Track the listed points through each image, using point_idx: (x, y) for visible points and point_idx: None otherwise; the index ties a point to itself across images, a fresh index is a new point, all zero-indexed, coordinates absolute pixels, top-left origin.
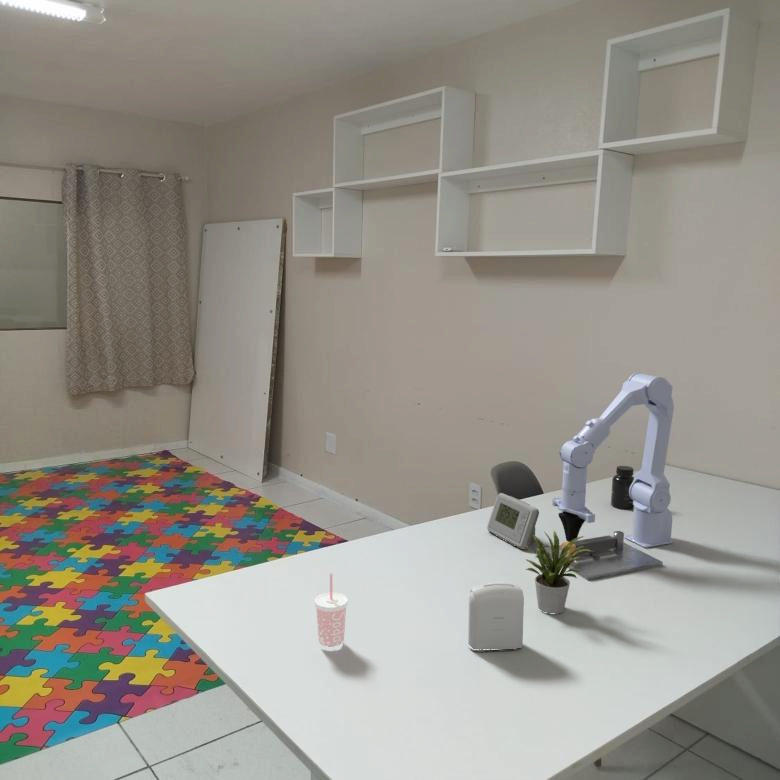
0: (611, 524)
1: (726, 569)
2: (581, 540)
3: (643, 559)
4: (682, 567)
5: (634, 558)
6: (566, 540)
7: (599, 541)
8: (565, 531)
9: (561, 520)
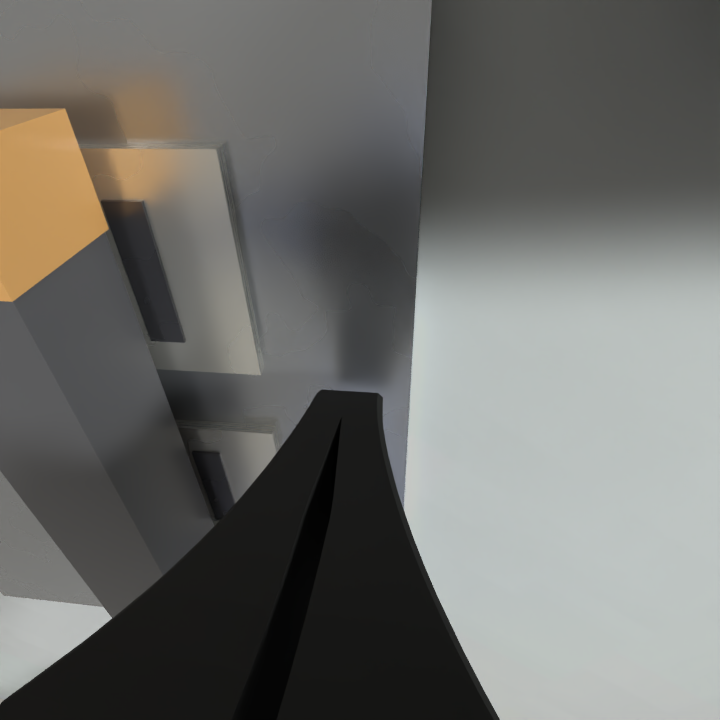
0: (577, 705)
1: (6, 660)
2: (82, 455)
3: (28, 564)
4: (9, 605)
5: (42, 546)
6: (376, 393)
7: (63, 550)
8: (360, 475)
9: (430, 647)
